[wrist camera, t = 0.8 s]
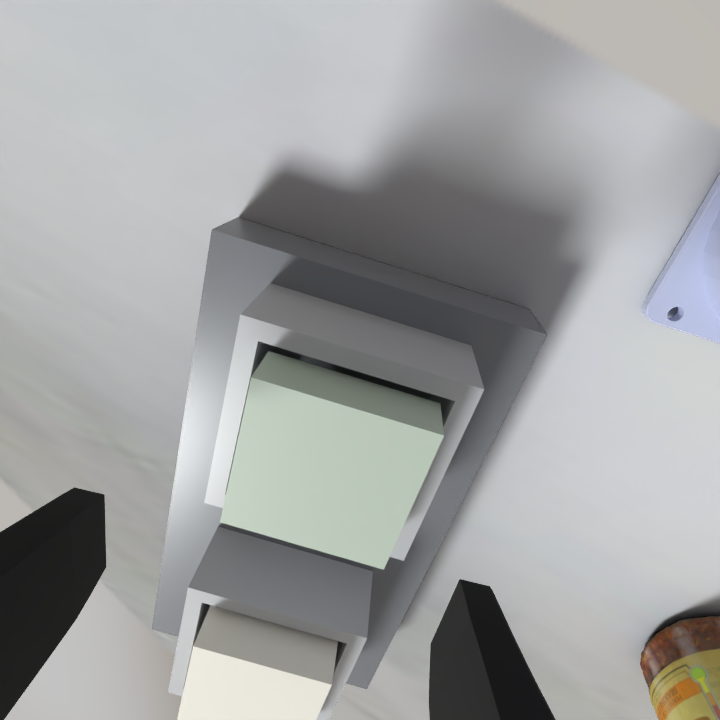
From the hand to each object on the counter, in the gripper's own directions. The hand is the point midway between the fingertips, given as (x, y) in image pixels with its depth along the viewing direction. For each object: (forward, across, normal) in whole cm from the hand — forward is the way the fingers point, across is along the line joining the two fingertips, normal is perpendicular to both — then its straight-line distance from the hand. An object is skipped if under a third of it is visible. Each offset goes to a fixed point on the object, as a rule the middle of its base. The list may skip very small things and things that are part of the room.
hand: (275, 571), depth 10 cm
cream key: (+5, 0, +11) cm, 12 cm away
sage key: (+5, -1, 0) cm, 5 cm away
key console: (+10, 0, +6) cm, 12 cm away
